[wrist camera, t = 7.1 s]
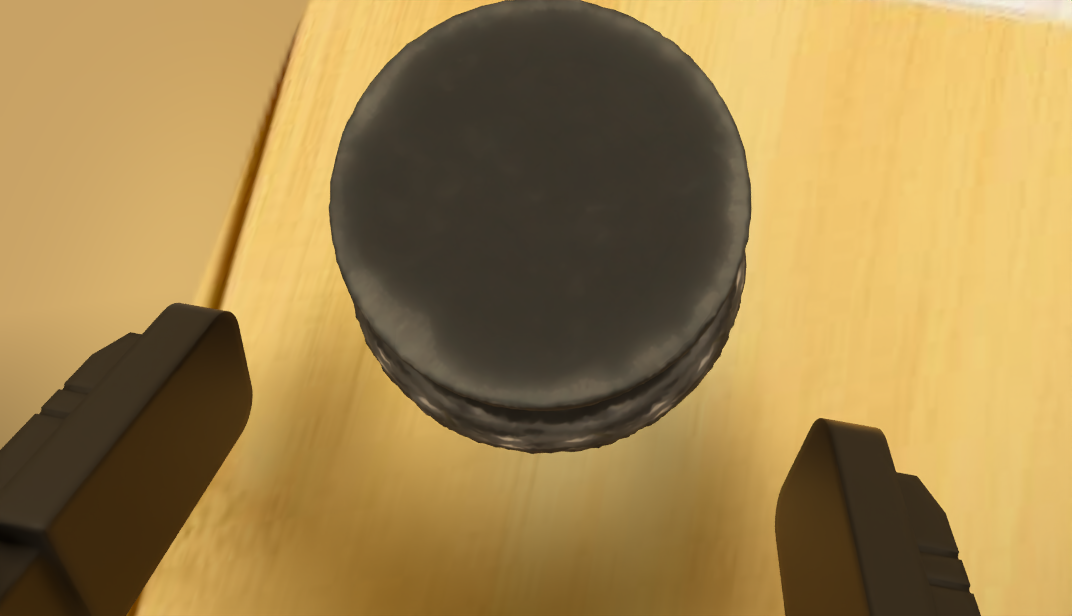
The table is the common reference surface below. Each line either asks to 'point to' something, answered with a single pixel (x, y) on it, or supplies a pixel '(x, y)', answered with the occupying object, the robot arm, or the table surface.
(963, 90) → the table surface
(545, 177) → the pill bottle
